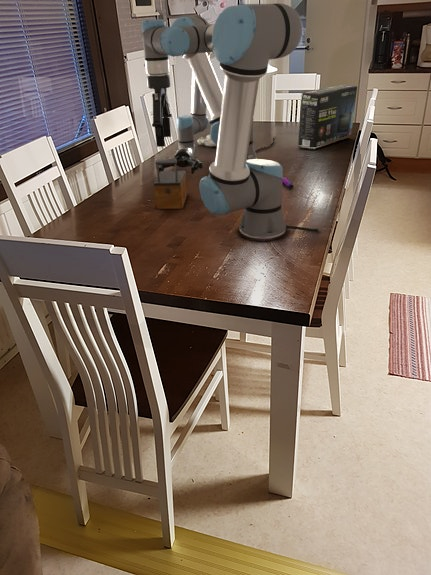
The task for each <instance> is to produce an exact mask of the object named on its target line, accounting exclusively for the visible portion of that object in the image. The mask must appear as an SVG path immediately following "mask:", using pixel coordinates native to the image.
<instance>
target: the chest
mask: <svg viewBox="0 0 431 575" xmlns="http://www.w3.org/2000/svg"><path fill="white" fill-rule="evenodd" d="M187 192H188V191H187V177H186V174H185V175H184V177H183V180H182V182H181V185H178V186H154V194H155V203H156V209H157V210H171V209H172V210H176V209H177V210H178V209H180V210H181V209H183V208H184V205H185V203H186V200H187V197H188V193H187Z"/></svg>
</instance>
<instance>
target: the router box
mask: <svg viewBox="0 0 431 575" xmlns="http://www.w3.org/2000/svg"><path fill="white" fill-rule="evenodd" d="M357 93H358V86H356V85H350V84H339V85H338V84H337V85H334V86H328V87H324V88H318V89H314V90H309V91H304V92H301V93H300V109H299V110H300V111H299V124H298V137H297V146H298V145H302V146H307V147H317V146H320V145H323V144H325V143H328V142H331V141H333V140H336V139H338V138H341V137H344V136H347V135H351V136H352V133H353V132H352V131H353V125H354V115H355V109H356V99H357ZM311 151H313V150H312V149H311Z"/></svg>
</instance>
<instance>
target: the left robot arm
mask: <svg viewBox="0 0 431 575" xmlns="http://www.w3.org/2000/svg"><path fill="white" fill-rule="evenodd" d="M209 24H210V23H209V22H208V21H207V19H206V18H204V17H202V16H199V15H195V16H187V15H185V16H181V17H177V18H176V19H175V20H173V22H172V23H171V25H170V27H179V26H198V25H209ZM212 53H213V52H207V53H195V54H184V55H181V58H182V59H183V60H185V61H187V62H188V65H189V67H190V71H191V93H190V94H191V95H190V96H191V97H190V99H191V100H190V115H179V116H177V117H176V134H177V136H176V137H177V145H178V146H177V148H178V149H177V151H176V153H175V154H174V156H173V157H172V158H170V157H168V156H167V157H166V158H165V159H177V164H176V165H177V167H179V168H186V167H187V168H188V167H190V170H191V171H190V173H191V175H194V174H195V171H197V170H198V169H200V170H201V169H203V162H202V161H201V160H199V159H198V157H197V156H195V154H196V145H195V135H197V134H199V133H202V132H204V131H205V130H206V129H207V128H209V126H211V127H210V131H209V132H210V133H209V134H210V136H211V139H212V141H213V142H214V143H215V144H216V145H217V144H218V134H219V125H220V116H221V107H222V98H223V90H222V87H221V85H220V82H219V80H218V77H217V75H216V72H215V69H214V67H213V65H212V62H211V60H210V56H211V54H212ZM207 110H208V111H207ZM207 112H208V113H209V116H210V118H209V117H208V115H207ZM263 147H264V148H263ZM259 148H260V149H259ZM259 148H257V149H255V147H254V118H253V122H252V129H251V135H250V141H249V148H248V154H247V160H249V159H258V158H257V157H258V156H257V152H260V151H261V150H263V149H267V148H266V147H265V146H262V147H259ZM170 167H174V164H162V165H159V173H160V171H165V169H167V168H170ZM174 168H175V167H174ZM155 169H156V170H157V167H156V166H155Z"/></svg>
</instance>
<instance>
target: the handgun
mask: <svg viewBox="0 0 431 575" xmlns="http://www.w3.org/2000/svg"><path fill="white" fill-rule="evenodd" d="M283 184H284V185H285V186H286V187H288V189H289V190H293V189H294V184H292V183H291V182H290V180H288V179H287V178H286V177H284V176H283Z"/></svg>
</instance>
